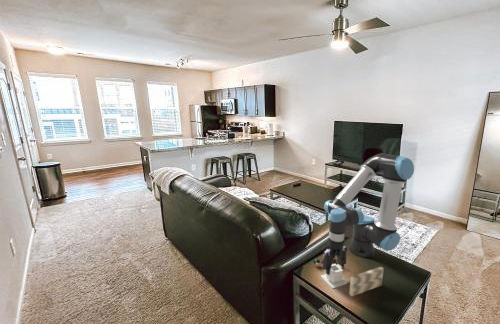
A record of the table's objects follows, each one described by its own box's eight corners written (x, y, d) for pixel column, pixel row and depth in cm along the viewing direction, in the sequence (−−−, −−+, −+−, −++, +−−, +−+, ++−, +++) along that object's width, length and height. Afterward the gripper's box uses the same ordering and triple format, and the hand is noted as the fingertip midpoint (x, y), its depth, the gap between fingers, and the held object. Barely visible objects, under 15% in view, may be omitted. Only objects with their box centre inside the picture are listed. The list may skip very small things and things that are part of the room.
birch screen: (379, 283, 123) (380, 266, 121) (381, 285, 122) (383, 268, 120) (349, 294, 116) (350, 276, 114) (351, 296, 115) (353, 278, 113)
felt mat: (335, 271, 133) (335, 271, 133) (348, 283, 124) (348, 282, 124) (320, 276, 129) (320, 275, 129) (332, 288, 120) (332, 288, 120)
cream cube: (334, 273, 130) (335, 263, 129) (342, 280, 125) (343, 269, 123) (325, 275, 128) (326, 265, 127) (333, 283, 123) (333, 272, 121)
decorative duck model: (313, 260, 134) (309, 244, 148) (314, 271, 135) (310, 255, 150) (340, 258, 132) (333, 243, 147) (341, 270, 134) (334, 253, 148)
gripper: (345, 231, 128) (342, 269, 133) (316, 238, 122) (314, 277, 126) (356, 238, 121) (352, 277, 126) (326, 246, 115) (323, 287, 120)
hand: (333, 277), depth 126 cm, fingers closed on cream cube, 6 cm apart
